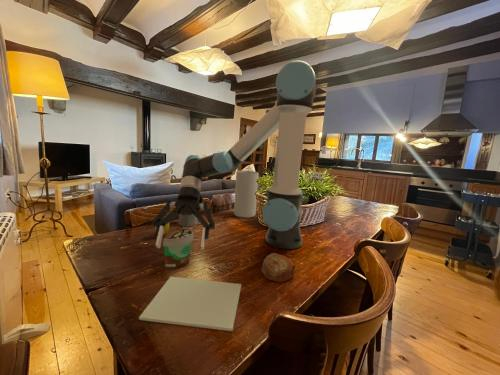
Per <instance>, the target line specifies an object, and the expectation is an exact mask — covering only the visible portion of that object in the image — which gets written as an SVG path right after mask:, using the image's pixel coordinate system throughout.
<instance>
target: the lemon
mask: <svg viewBox="0 0 500 375" xmlns="http://www.w3.org/2000/svg"><path fill="white" fill-rule="evenodd" d="M156 228H157V227H154V230H155V231H156ZM163 228H164V232H163V236H165V235H166V234H167V233H169V231H170V222H169V223H167V224H166V225H165V226H164V227H163Z"/></svg>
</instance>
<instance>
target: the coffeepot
mask: <svg viewBox="0 0 500 375" xmlns="http://www.w3.org/2000/svg"><path fill="white" fill-rule="evenodd" d="M203 201H204V197H203V195H202V194H201V193H200V198H199V204H201V203H203ZM200 210H201V207H199V209H198V212H199V211H200ZM177 221H178V222H177V224H178V225H179V226H180V227H193V226H197V224H198V223H199V220H198V219H197V218H196V217H195V216H194V215H193V214H192V215H182V214H180V215H178V220H177Z"/></svg>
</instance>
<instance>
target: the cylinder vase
mask: <svg viewBox="0 0 500 375" xmlns="http://www.w3.org/2000/svg"><path fill="white" fill-rule="evenodd" d="M235 171H236V175H235V187H234V188H235V190H234V206H233V214H234V216H236V217H237V218H238V217H239V218H244V219H249V218H253V217H255V216H256V214H257V200H258V199H256V195H255V192H256V191H257V192H258V187H259V186H258V185H259V182H258V183H257V182H256V181H257V179H258V180H259V176H260V175H259V172H258V171H252V170H235Z"/></svg>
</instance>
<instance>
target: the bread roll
mask: <svg viewBox="0 0 500 375" xmlns="http://www.w3.org/2000/svg"><path fill="white" fill-rule="evenodd" d="M295 268H296V266H295V265H294V263H293V261H292V259H290V258H289V257H287V256H286V255H283V254H279V253H277V252H272V253H270V254H268V255H267V256H266V257H265V258H264V259H263V262H262V267H261V269H260V271H261V272H262V274H263V276H264V277H265V278H266V279H267V280H269V281H273V282H285V281H289V280H291V279H292V278H293V276H294V274H295Z"/></svg>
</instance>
